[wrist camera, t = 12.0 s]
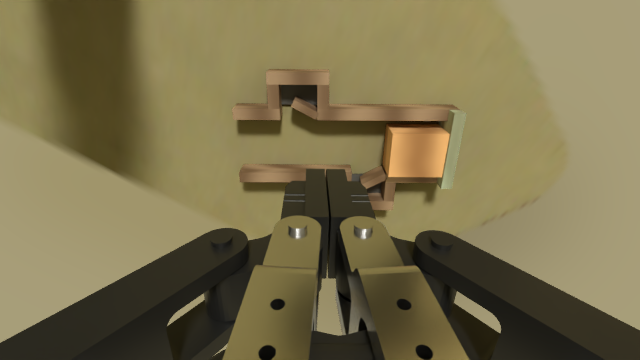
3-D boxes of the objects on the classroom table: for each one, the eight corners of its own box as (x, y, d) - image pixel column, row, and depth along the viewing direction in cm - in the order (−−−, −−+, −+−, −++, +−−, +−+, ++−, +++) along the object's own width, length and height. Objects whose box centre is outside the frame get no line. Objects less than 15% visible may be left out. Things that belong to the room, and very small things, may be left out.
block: (382, 163, 41) (388, 177, 37) (386, 123, 38) (392, 133, 35) (431, 163, 41) (441, 177, 37) (437, 123, 38) (449, 134, 35)
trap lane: (247, 199, 43) (240, 216, 39) (234, 69, 36) (224, 74, 32) (435, 200, 43) (446, 216, 39) (458, 70, 36) (473, 75, 32)
